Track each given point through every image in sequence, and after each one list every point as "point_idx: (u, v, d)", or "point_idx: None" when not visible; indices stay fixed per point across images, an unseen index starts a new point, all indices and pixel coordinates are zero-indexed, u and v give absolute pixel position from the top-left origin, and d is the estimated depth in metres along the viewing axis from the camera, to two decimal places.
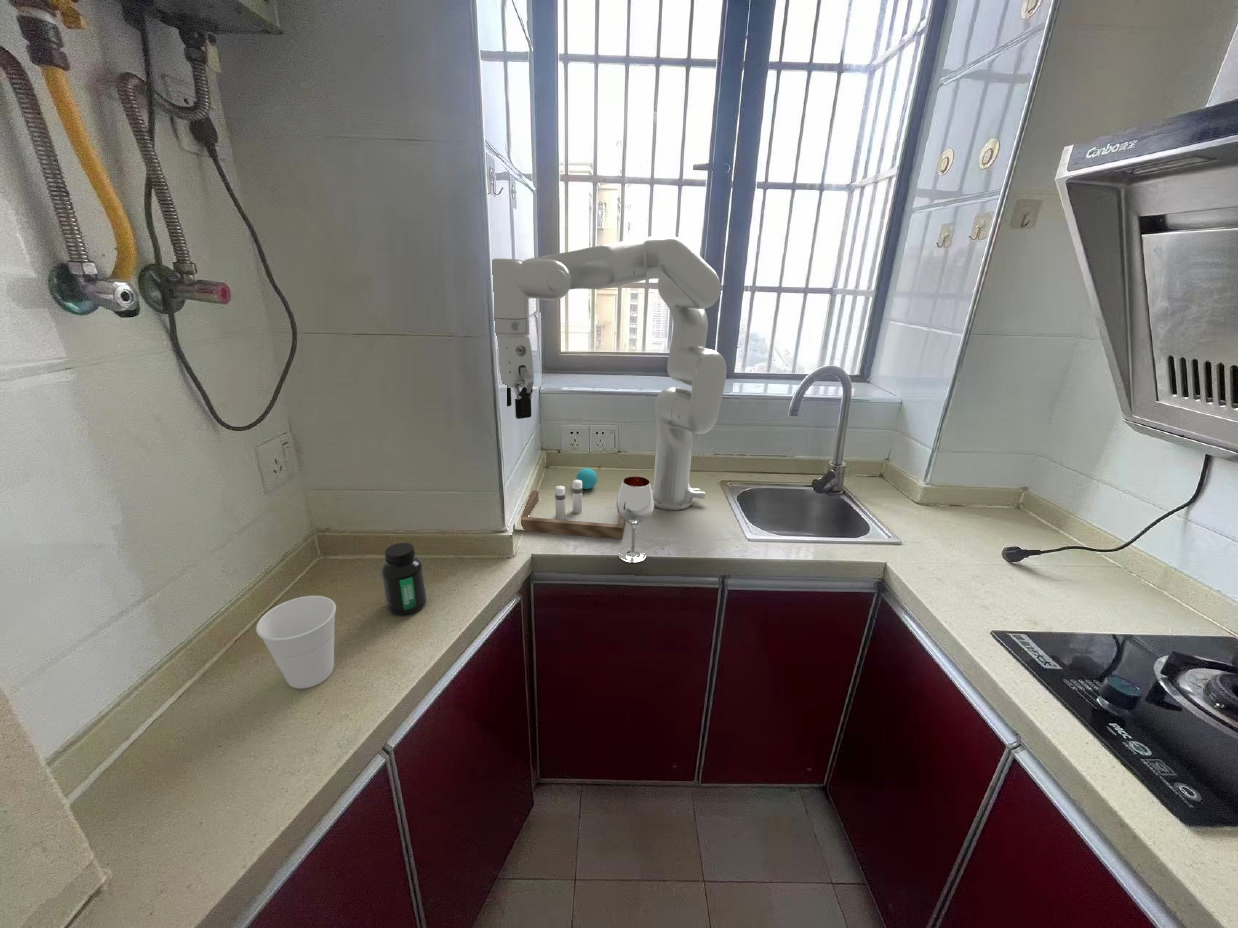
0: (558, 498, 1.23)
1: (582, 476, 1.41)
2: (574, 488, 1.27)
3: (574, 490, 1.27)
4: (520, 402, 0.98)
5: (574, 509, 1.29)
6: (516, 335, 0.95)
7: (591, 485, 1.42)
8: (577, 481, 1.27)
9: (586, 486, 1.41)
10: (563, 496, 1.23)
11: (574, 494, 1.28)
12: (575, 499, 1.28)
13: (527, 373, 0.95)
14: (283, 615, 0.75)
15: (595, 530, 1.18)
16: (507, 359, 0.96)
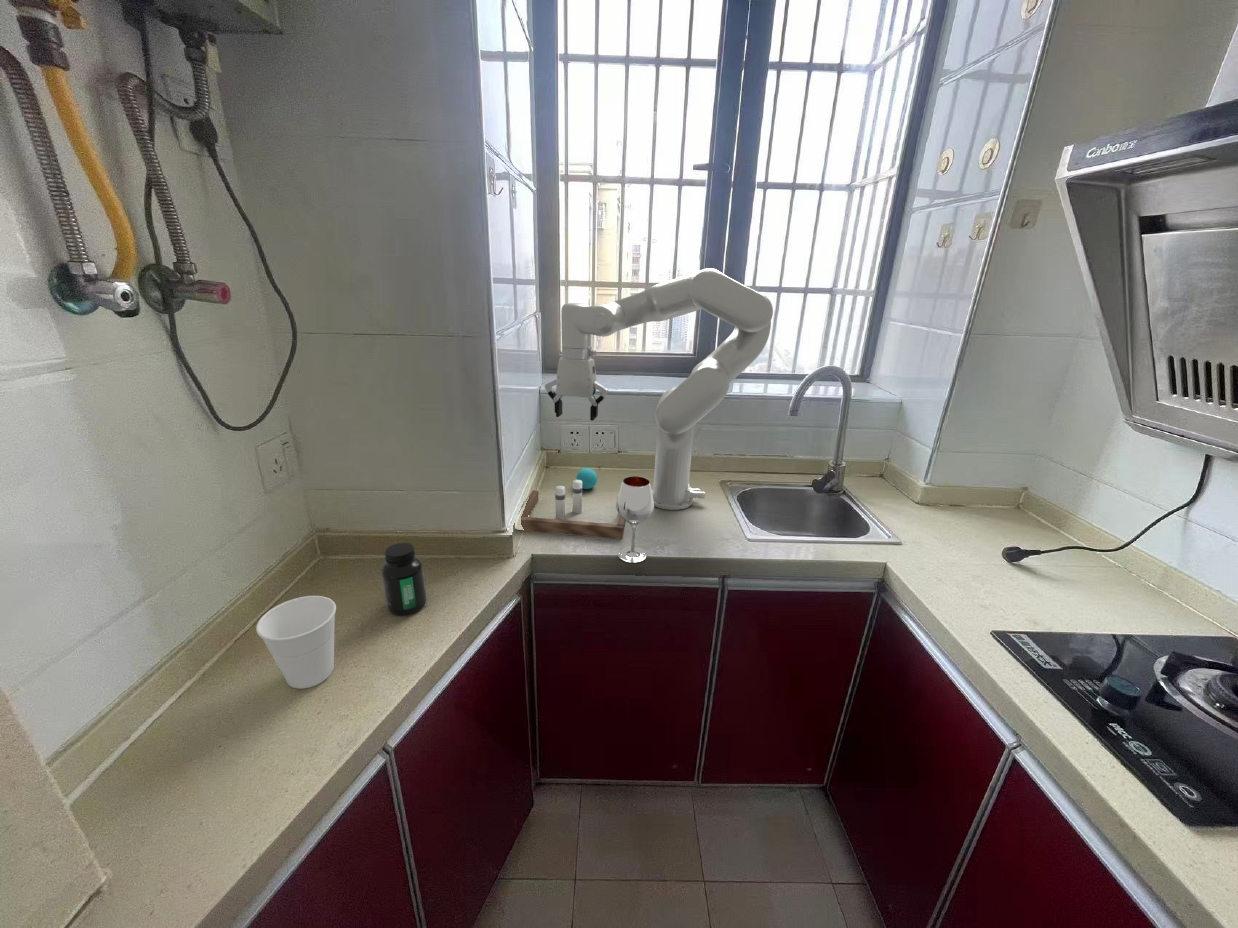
0: (558, 498, 1.23)
1: (582, 476, 1.41)
2: (574, 488, 1.27)
3: (574, 490, 1.27)
4: (594, 408, 1.32)
5: (574, 509, 1.29)
6: (589, 359, 1.28)
7: (591, 485, 1.42)
8: (577, 481, 1.27)
9: (586, 486, 1.41)
10: (563, 496, 1.23)
11: (574, 494, 1.28)
12: (575, 499, 1.28)
13: (601, 385, 1.31)
14: (283, 615, 0.75)
15: (595, 530, 1.18)
16: (585, 377, 1.28)
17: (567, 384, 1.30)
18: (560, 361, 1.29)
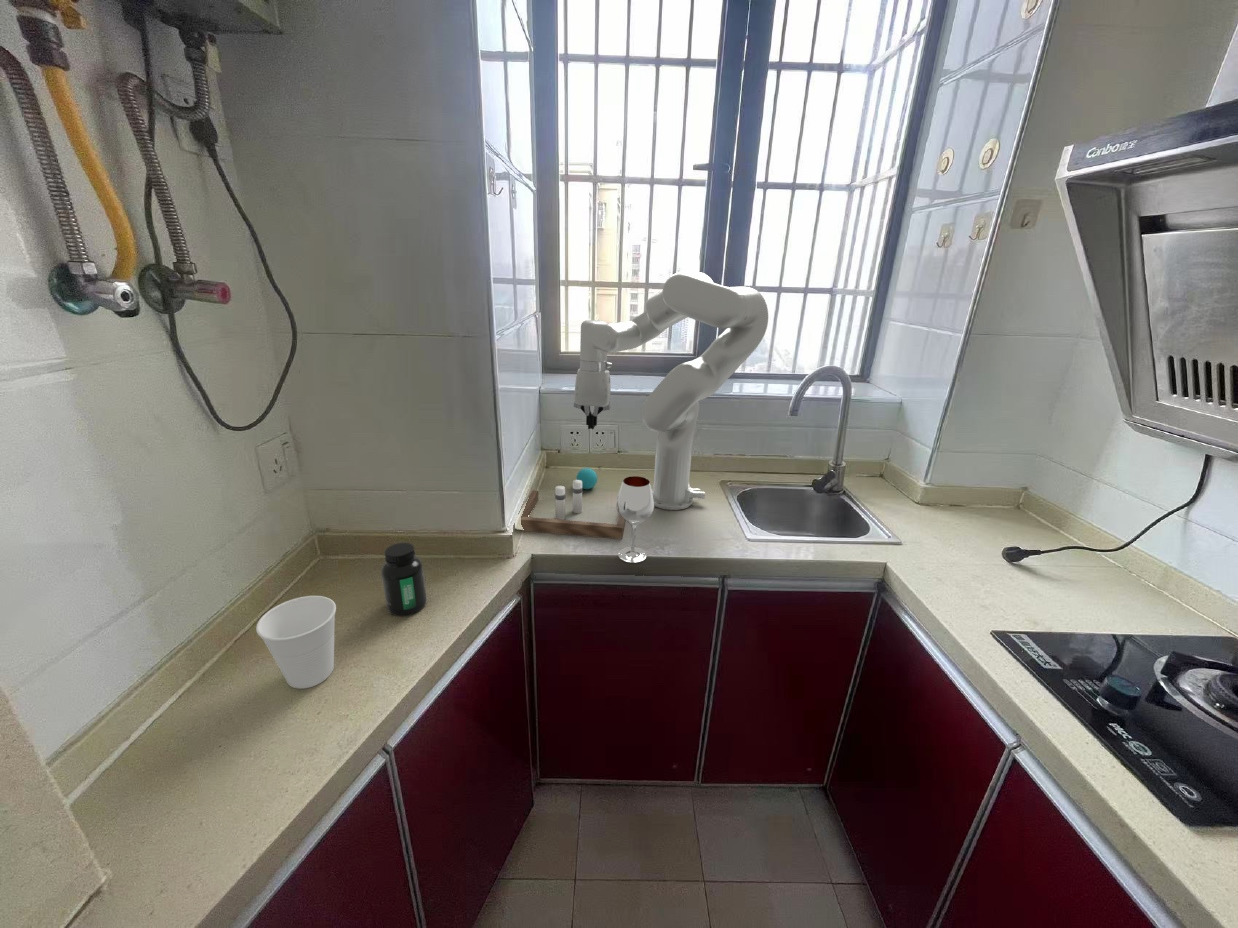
0: (558, 498, 1.23)
1: (582, 476, 1.41)
2: (574, 488, 1.27)
3: (574, 490, 1.27)
4: (595, 417, 1.46)
5: (574, 509, 1.29)
6: (606, 371, 1.41)
7: (591, 485, 1.42)
8: (577, 481, 1.27)
9: (586, 486, 1.41)
10: (563, 496, 1.23)
11: (574, 494, 1.28)
12: (575, 499, 1.28)
13: (609, 401, 1.45)
14: (283, 615, 0.75)
15: (595, 530, 1.18)
16: (603, 387, 1.41)
17: (585, 394, 1.42)
18: (579, 373, 1.40)
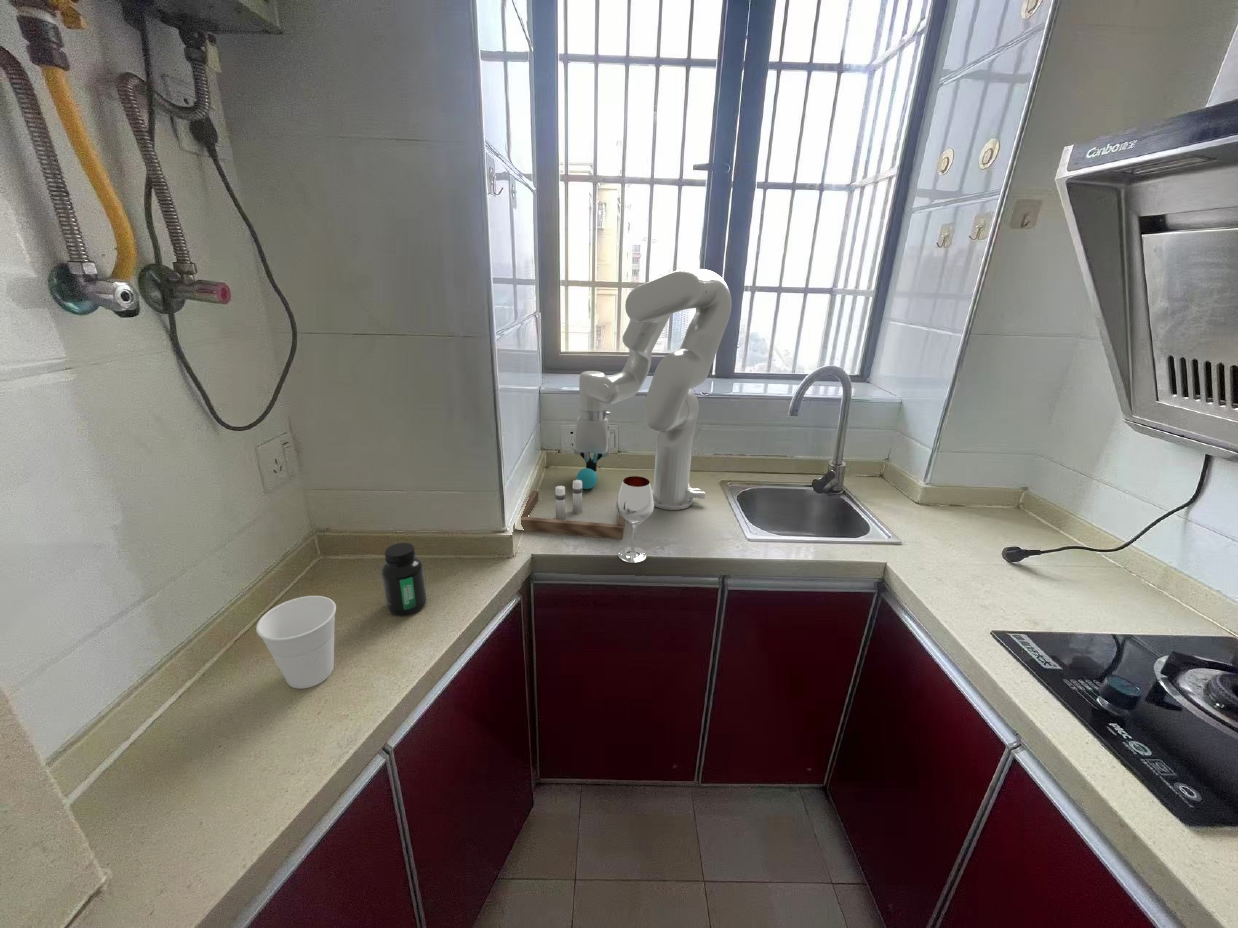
0: (558, 498, 1.23)
1: (582, 476, 1.41)
2: (574, 488, 1.27)
3: (574, 490, 1.27)
4: (594, 464, 1.49)
5: (574, 509, 1.29)
6: (604, 419, 1.44)
7: (591, 485, 1.42)
8: (577, 481, 1.27)
9: (586, 486, 1.41)
10: (563, 496, 1.23)
11: (574, 494, 1.28)
12: (575, 499, 1.28)
13: (608, 448, 1.48)
14: (283, 615, 0.75)
15: (595, 530, 1.18)
16: (601, 436, 1.44)
17: (585, 442, 1.45)
18: (578, 422, 1.44)
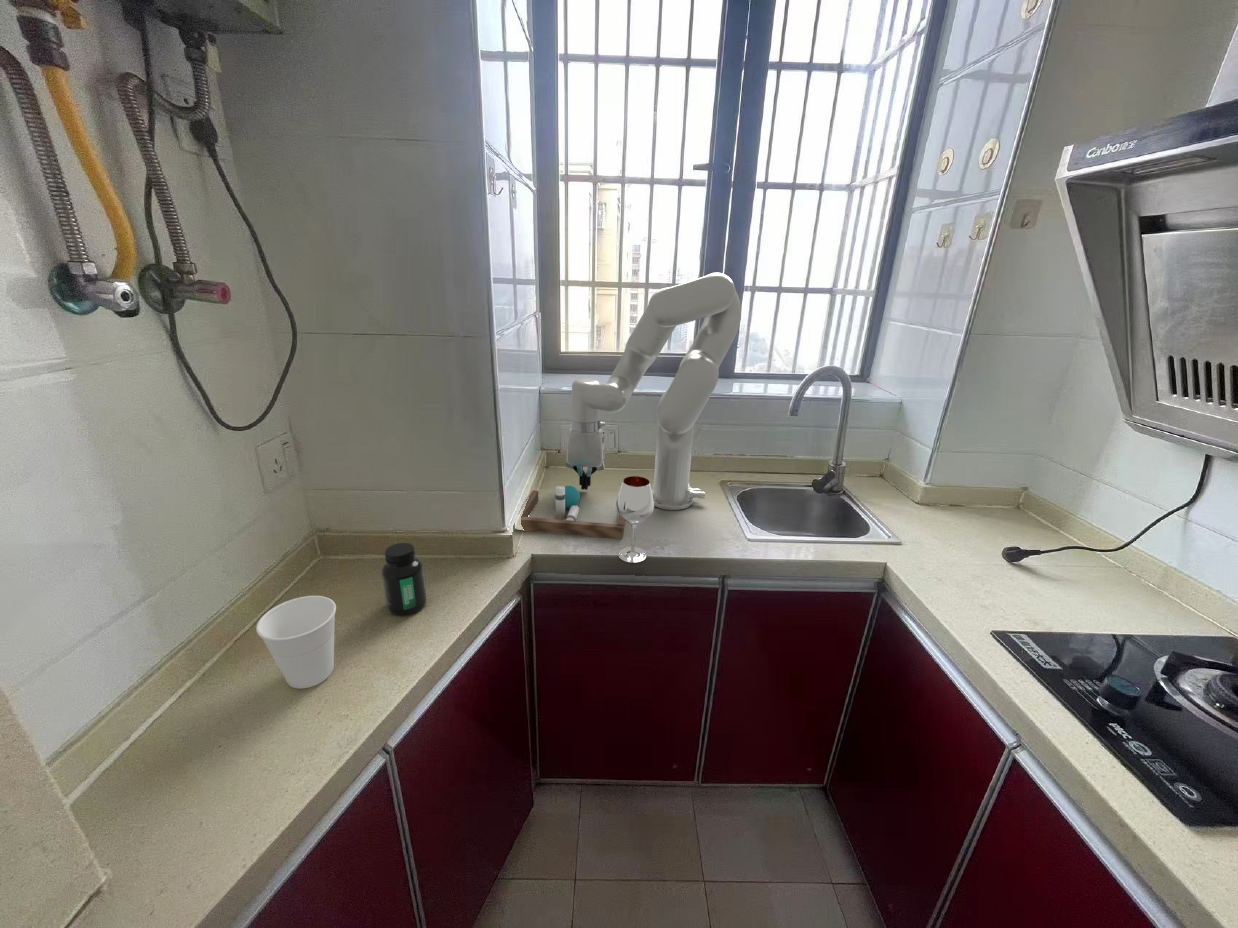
0: (558, 498, 1.23)
1: None
2: None
3: None
4: (588, 478, 1.39)
5: None
6: (599, 430, 1.34)
7: (572, 488, 1.30)
8: None
9: (567, 486, 1.31)
10: (563, 496, 1.23)
11: None
12: None
13: None
14: (283, 615, 0.75)
15: (595, 530, 1.18)
16: (596, 448, 1.34)
17: (578, 454, 1.35)
18: (571, 433, 1.34)
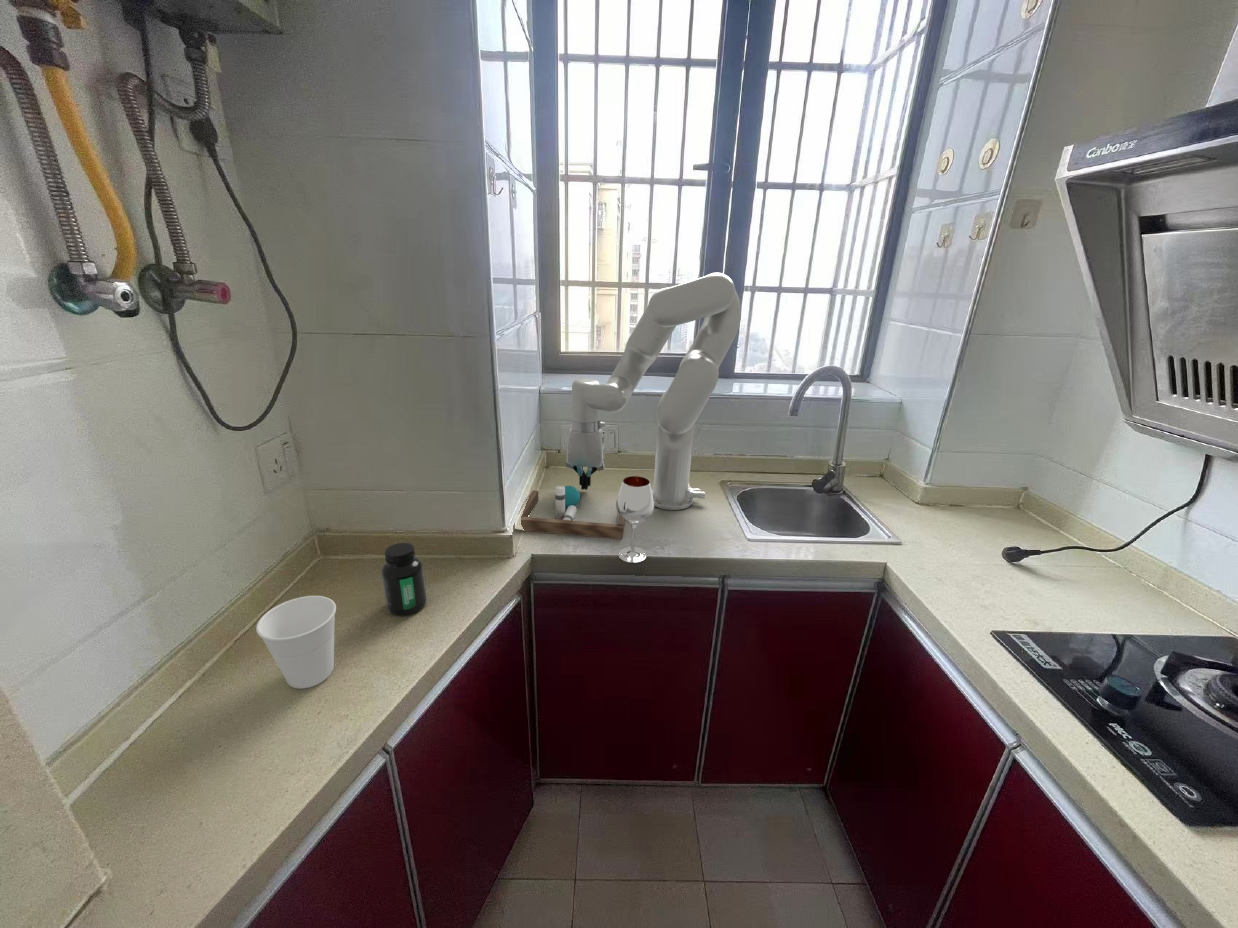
0: (558, 498, 1.23)
1: None
2: None
3: None
4: (588, 478, 1.39)
5: None
6: (599, 430, 1.34)
7: (572, 488, 1.30)
8: None
9: (567, 486, 1.31)
10: (563, 496, 1.23)
11: None
12: None
13: None
14: (283, 615, 0.75)
15: (595, 530, 1.18)
16: (596, 448, 1.34)
17: (578, 454, 1.35)
18: (571, 433, 1.34)
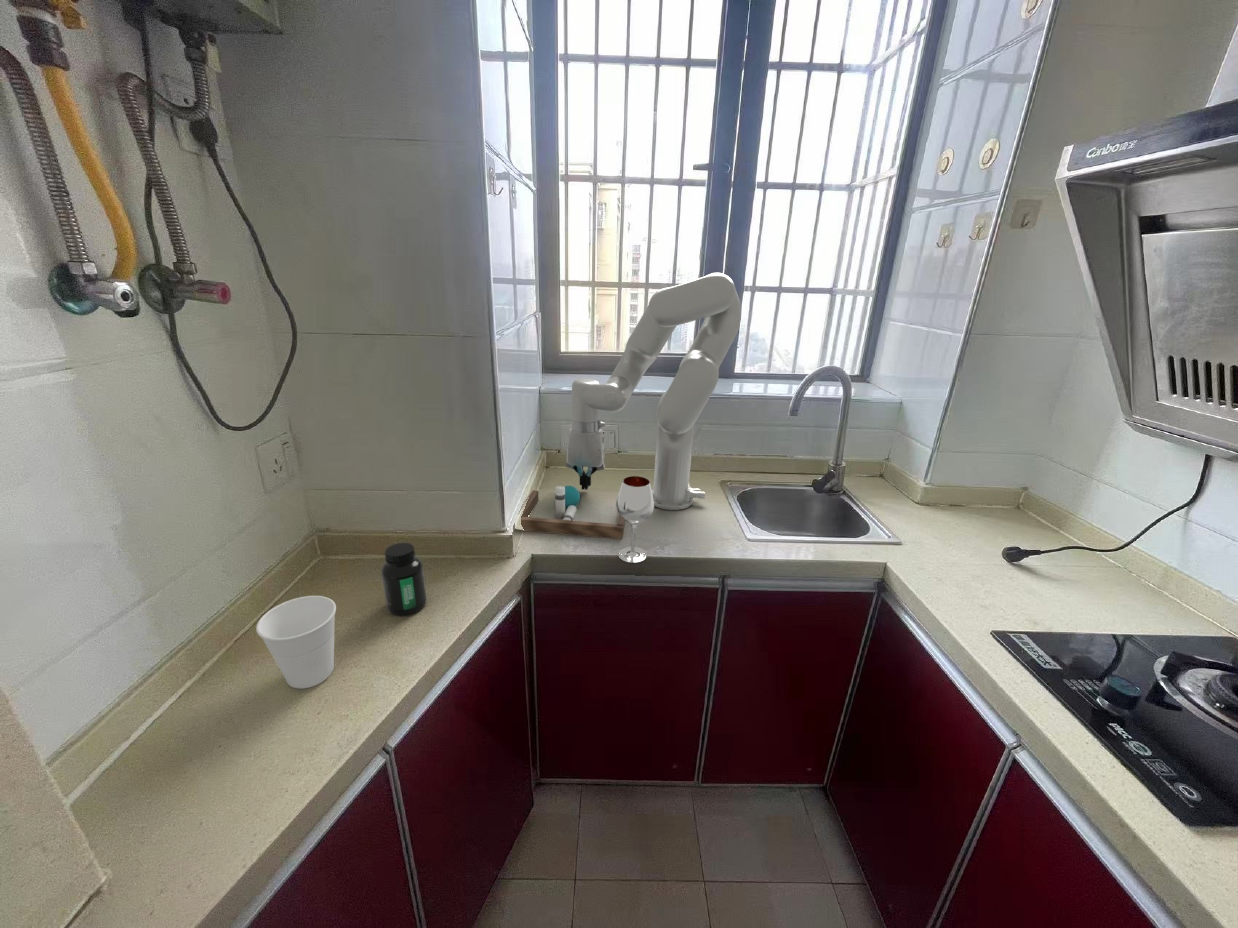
0: (558, 498, 1.23)
1: None
2: None
3: None
4: (588, 478, 1.39)
5: None
6: (599, 430, 1.34)
7: (572, 488, 1.30)
8: None
9: (567, 486, 1.31)
10: (563, 496, 1.23)
11: None
12: None
13: (603, 461, 1.38)
14: (283, 615, 0.75)
15: (595, 530, 1.18)
16: (596, 448, 1.34)
17: (578, 454, 1.35)
18: (571, 433, 1.34)
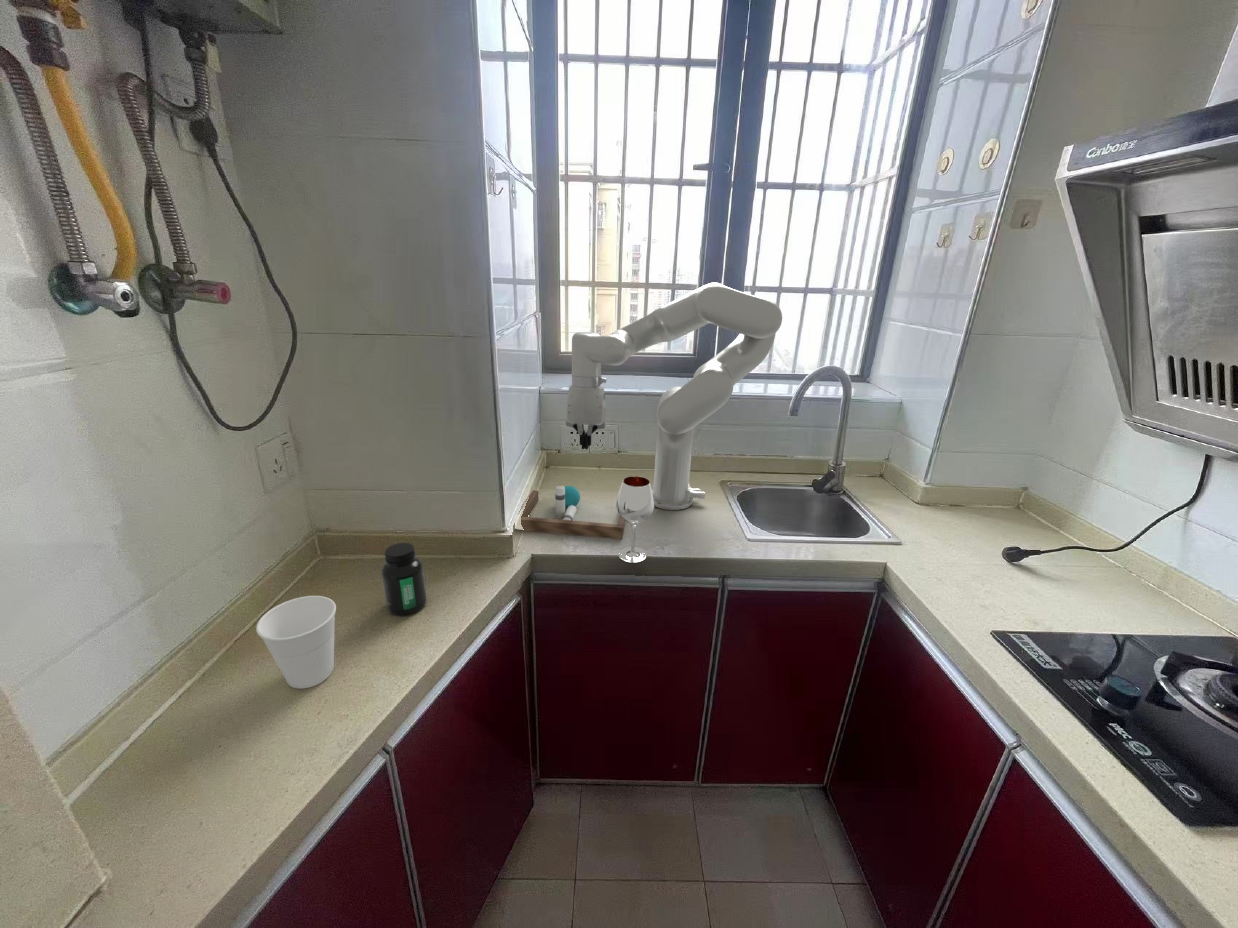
0: (558, 498, 1.23)
1: None
2: None
3: None
4: (589, 437, 1.35)
5: None
6: (600, 386, 1.30)
7: (572, 488, 1.30)
8: None
9: (567, 486, 1.31)
10: (563, 496, 1.23)
11: None
12: None
13: (604, 419, 1.33)
14: (283, 615, 0.75)
15: (595, 530, 1.18)
16: (597, 405, 1.30)
17: (578, 412, 1.31)
18: (571, 389, 1.29)
